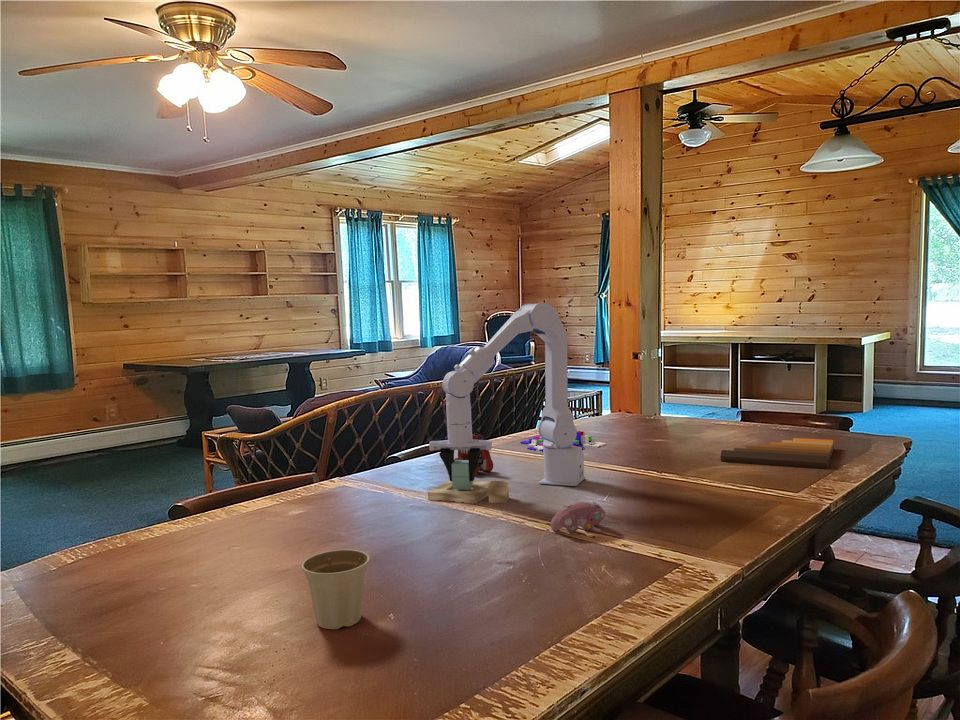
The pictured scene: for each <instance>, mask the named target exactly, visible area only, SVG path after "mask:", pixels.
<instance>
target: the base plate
mask: <svg viewBox="0 0 960 720" xmlns="http://www.w3.org/2000/svg"><path fill="white" fill-rule="evenodd" d="M489 483H490V481H484V480H482V481H481V480H474V481H473V486H472V487H471V488H470V489H469V490H460V489H452V481H450V479H449V480H448V481H446V482H444V483H442V484H440V485H438V486H436V487H435V488H433V489H431V490H429V491H427V500H428V499H429V501H437V500H442V501H441V502H449V501H455V502H454V503H461V502H464V503H463V504H474V503H476V504H477V503H478V501H479V502H480V501H482V500H483V499H485V498H487V497H489V496H488V485H489Z"/></svg>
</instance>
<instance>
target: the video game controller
mask: <svg viewBox="0 0 960 720" xmlns="http://www.w3.org/2000/svg"><path fill="white" fill-rule="evenodd" d="M605 516H606V511H605V510H604V508H603V507H602V506H601V505H599V504H598V503H597V502H596V501H593V502H591V503H589V502H587V501H579V502H578V501H577V502H574V503H573V504H570V505H568V506H567V505H563V506H562V507H561V508H559V510H557V512H556V513H555V515H554V516H553V517H552V518H551V521H550V527H551V529H552V531H554V532H558V531H559V530H561V529H562V528H564V529H566V531H567V532H568V533H570V534H572V533H575V532H576V531H578V529H579V524H578V522H577V521H578V520H581V522H580V525H581V528H582V529H583V531H586V532H587V531H591V530H592V529H593V528H594V527H595V526H598V525H599V524H601V522H602V520H604V518H605Z"/></svg>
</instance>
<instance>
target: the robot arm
mask: <svg viewBox="0 0 960 720" xmlns="http://www.w3.org/2000/svg"><path fill="white" fill-rule="evenodd" d="M528 332H531V333H534V334H536V336H538V337H539V338H540V339H541V340H542V341H543V342H544V349H545V350H544V359H545V360H544V361H545V362H544V365H545V369H544V371H545V373H544V374H545V377H544V378H545V380H544V381H545V385H544V386H545V405H544V408H543V409H542V412H541V418H540V422H539V424H538V428H537V431H538V434H539V435H538V436H541V438H543V452H542V453H543V473H544V477H543V478H542V479H541V480H539V481H538V484H541V485H554V486H555V485H556V486H570V487H576V486H578V485H579V484H580V483H581V482H583V480H585V479H586V476H585V463H584V461H585V460H584V457H585V456H584V449H583V450H582V448H581V447H582V446H573V442H574V441H575V439H576V436H577V431H578V430H577V427H576V425H575V423H574V416H573V413H572V411H571V409H570V408H569V406H568V401H569V399H568V395H569V394H568V391H569V390H568V385H569V384H568V382H569V381H568V332H567V331H566V328H565V326H564V324H563V321H562V320H561V318H560V314H559V310H557V309H555V307H554V306H552V305H551V304H550V303H548V302H539V303H525V304H523V305H521V306H520V308H519V309H518V310H516V311H515V312H513V313H512V314H511V316H510V317H509V319H507V321H506V322H504V324H503V325H502V326H501V327H500V328H499V330H497V331H496V333H495V334H494V335H493V336H492V337H491V338H490V339H489V340H488V342H487V343H486V344H485V345H484V346H476V347H475V348H470V349H469V350H468V351H467V353H468V355H467V356H465V358H464V359H463V360H462V361H461V362H460V363H459V364H455V365H454V366H453V368H454V370H452V371H449V372H447V373H446V374H445V376H444V377H443V380H442V382H441V388H442V390H443V392H444V393H445V400H446V401H445V406H446V407H445V409H446V411H445V413H446V427H447V428H446V431H447V439H443V440H431V441H430V442H429V443H428V444H429V451H430V452H433V451H439V454H438V455H439V457H440V459H441V461H442V462H443V465H444V466H445V468H446V472H447V474H448V477H449V480H450V481H452V463H453V462H454V459H455V450H456V451H458V450H470V451H469V452H468V460H469V479H470V481H475V476H476V475H475V470H476V466H477V463H478V460H479V457H480V454H481V452H482V450H489V451H491V450H492V449H493V441H492V440H490V439H489V440H487V439H483V440H474V439H472V434H473V425H472V423H473V422H472V403H471V393H472V392H473V390H474V386H475V385H474V384H475V383H477V382H478V381H479V380H480V379H481V378H482V377H483V376H484V374H486V373H487V372H488V371H489V369H491V368H492V366H493V365H494V364H495V356H496V355H497V354H499V353H500V352H501V350H503V349H504V348H505V347H506V346H507V345H508V344H509V343H510V342H512V341H513V340H514V338H516V336H518V335H520V334H523V333H528Z"/></svg>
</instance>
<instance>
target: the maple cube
mask: <svg viewBox="0 0 960 720" xmlns="http://www.w3.org/2000/svg"><path fill="white" fill-rule="evenodd" d="M489 482H490V483H489V485H488V496H487V497H488V503H489V504H490V503H491V504H492V503H493V504H497V503H498V504H504V503H505V504H507V503H508V501H509V498H510V495H509V493H510V492H509V491H510V489H509V480H490V481H489Z"/></svg>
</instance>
